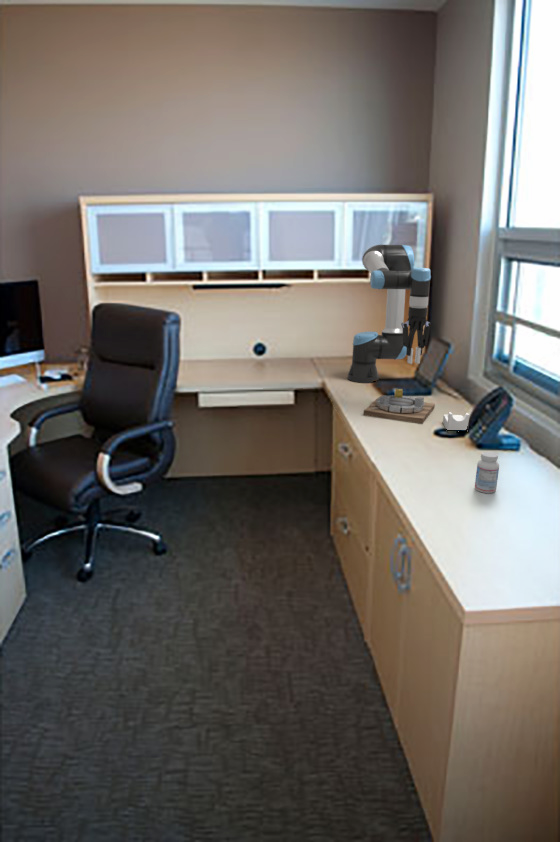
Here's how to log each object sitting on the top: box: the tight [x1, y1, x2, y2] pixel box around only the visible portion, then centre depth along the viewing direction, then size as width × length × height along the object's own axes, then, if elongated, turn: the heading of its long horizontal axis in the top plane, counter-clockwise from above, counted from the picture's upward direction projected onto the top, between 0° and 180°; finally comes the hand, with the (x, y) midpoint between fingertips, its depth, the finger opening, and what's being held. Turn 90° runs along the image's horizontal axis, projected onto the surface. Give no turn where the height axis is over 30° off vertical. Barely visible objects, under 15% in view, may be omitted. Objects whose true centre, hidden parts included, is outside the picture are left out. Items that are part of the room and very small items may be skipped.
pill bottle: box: [474, 450, 500, 494], centre depth 184 cm, size 6×6×11 cm
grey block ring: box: [376, 388, 425, 413], centre depth 260 cm, size 19×19×5 cm
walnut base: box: [363, 396, 436, 424], centre depth 261 cm, size 24×24×4 cm
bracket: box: [442, 411, 470, 431], centre depth 241 cm, size 13×7×8 cm, turn 174°
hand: (413, 362), depth 265 cm, fingers open, 3 cm apart
